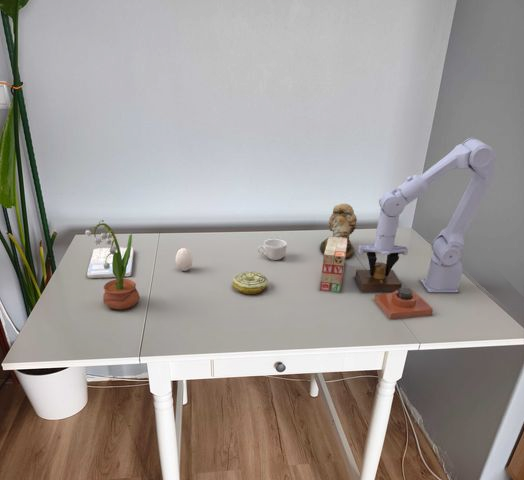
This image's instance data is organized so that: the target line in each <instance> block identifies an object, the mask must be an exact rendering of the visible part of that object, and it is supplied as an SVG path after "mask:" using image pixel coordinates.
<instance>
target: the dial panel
mask: <svg viewBox="0 0 524 480" xmlns="http://www.w3.org/2000/svg"><path fill="white" fill-rule="evenodd" d="M354 274H355V275H354V279H355V281H356V283H357V285H358V288H359V290H360V292H361V293H362V294H388V293H393V292H395V291H397V290H399V289H400V288H402V286H403V285H402V282H401V280H400V279H399V276H397V274H396V273H395V270H394V269H391V270H390V272H389V275H388V276H385V278H384V279H375V278H373V277H372V276H371V275H370V269H356V270H355V273H354Z"/></svg>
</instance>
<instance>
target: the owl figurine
mask: <svg viewBox="0 0 524 480" xmlns="http://www.w3.org/2000/svg"><path fill="white" fill-rule="evenodd" d="M357 220H358V218H357V215H356V214H355V210H354V208H353V206H351V204H350V203H349V204H348V203H340V204H336V205H334V206H333V208H332V213H331V215H330V217H329V220H328V229H329V231H330V232H332V237H340V238H347V249H346V256H345V261H346V260H349V259H351V258H352V257H353V256H354V253H355V249H354V246H353V244H352V243H351V240H350V235H352V234H353V233H354V231H355V229H357ZM328 238H329V237H327V238H325V239H324V240H323V241H322V242H321V244H320V251H321V253H322V254H323V255H324V252H325V249H326V246H327V240H328Z"/></svg>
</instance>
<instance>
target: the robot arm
mask: <svg viewBox="0 0 524 480" xmlns="http://www.w3.org/2000/svg"><path fill="white" fill-rule="evenodd" d="M497 158H498V157H497V154H496V152H495V151H494V149H493V148H492V147H491V146H490V145H489V144H486V143H484V142H483V141H481V140H480V139H479V138H477V137H469V138H467V139H465V140H464V141H462V142H461V143H459V144H457V145H456V146H455V147H454V148H453V149H452V150H451V151H450V152H449V153H448V154H446V155H445V156H444V157H443V158H441V159H440V160H439V161H437V162H436V163H435V164H433V165H432V166H431V167H429V169H427V170H425V172H423V173H422V174H413V175H412V176H411V175H408V176H407V177H406V180H405V181H404V182H402V183H401V184H400V185H398V186H397V187H393V188H392V189H391V190H390V191H389V190H388V191H386V192H385V193H383V194H382V195H381V197H380V199H378V205H379V207H380V211H379V216H378V220H377V226H376V232H375V237H374V238H375V239H374V243H372V244H371V243H370V244H362V245H361V244H359V245H358V249H357V250H358V253H359V254H360V255H363V254H366V255H367V260H368V265H369V270H370V275H371V276H373V275H374V268H375V264H376V262H377V260H378V258H377V254H382V255H384V256H386V263H385V264H386V265H387V269H386V275H385V276H388V275H389V272H390V270H393V267H394V266H395V265H396V264H397V262H399V259H400V256H399V255H403V256H407V255H408V252H409V248H408V247H407V246H402V245H396V244H395V241H396V237H397V230H398V225H399V222H400V221H399V219H400V215H402V213H403V212H404V210H405V207H406V206H408V205H409V204H411V203H412V202H413V201H415V200H416V199H418V198H419V197H421V196H422V195H423V194H425V193H426V192H427V191H428V187H429V185H431V184H433V183H434V182H435V181H438V180H440V179H441V178H443V177H444V176H446V175H447V174H449V173H450V172H452V171H453V170H456V169H458V170H469V172H470V174H471V176H472V177H471V179H470V181H469V183H468V185H467V187H466V189H465V191H464V193H463V195H462V197H461V199H460V201H459V203H458V205H457V207H456V208H455V211H454V212H453V215H452V217H451V218H450V220H449V222H448V224H447V226H446V227H445V228H444V229H443V228H442V230H440V233H439V234H438V235H437V236H436V237H435V238H434V239H433V240H432V242H431V245H430V247H431V251H432V256H431V257H430V258H431V259H430V261H429V266H428V270H427V275H426V278H425V279H421V280H420V282H421V284H422V285H423V286H424V288H425V289H426V291H427V292H428V293H459V290H458V289H459V285H460V282H461V278H462V274H463V264H462V262H461V261H460V260H461V257H462V251H463V248H464V246H465V237H464V236H465V234H466V232H467V231H468V228H469V226H470V224H471V223H472V221H473V219H474V217H475V215H476V214H477V211H478V210H479V208H480V206H481V204H482V202H483V201H484V198H485V197H486V194H487V193H488V191H489V189H490V187H491V185H492V184H493V182H494V180H495V177H496V174H495V173H496V161H497Z"/></svg>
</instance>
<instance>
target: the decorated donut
mask: <svg viewBox="0 0 524 480" xmlns="http://www.w3.org/2000/svg"><path fill="white" fill-rule="evenodd" d="M269 285H270V283H269V279H268V277H267V276H266V275H265V274H263V273H261V272H259V271H243V272H239V273H237V274H236V275H235V274H234V276H233V278H232V286H233V287H234V289H235V290H236V291H237V292H239V293H242V294H245V295H255V294H259V293H262V292H263V291H264V290H265V289H266V288H267V287H269Z"/></svg>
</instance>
